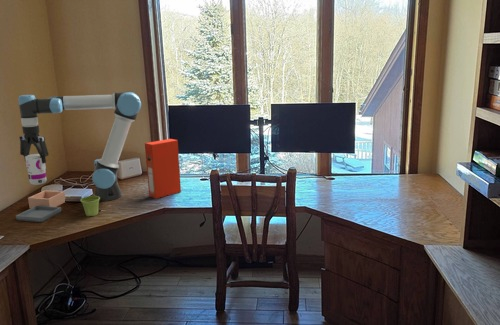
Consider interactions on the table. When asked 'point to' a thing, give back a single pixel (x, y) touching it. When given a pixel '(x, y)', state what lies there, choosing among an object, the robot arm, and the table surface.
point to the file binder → (163, 168)
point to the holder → (47, 199)
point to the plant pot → (90, 205)
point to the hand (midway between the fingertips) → (36, 168)
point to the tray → (38, 213)
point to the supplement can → (35, 170)
